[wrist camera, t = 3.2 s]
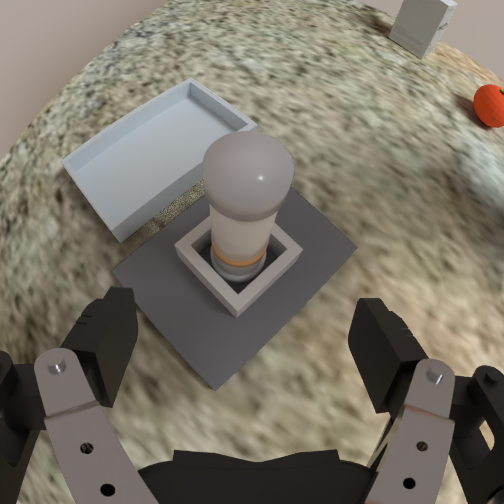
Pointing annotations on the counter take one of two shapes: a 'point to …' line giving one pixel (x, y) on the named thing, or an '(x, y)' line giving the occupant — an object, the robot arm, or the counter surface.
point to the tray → (151, 155)
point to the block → (229, 295)
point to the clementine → (490, 105)
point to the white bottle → (244, 200)
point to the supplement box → (421, 24)
